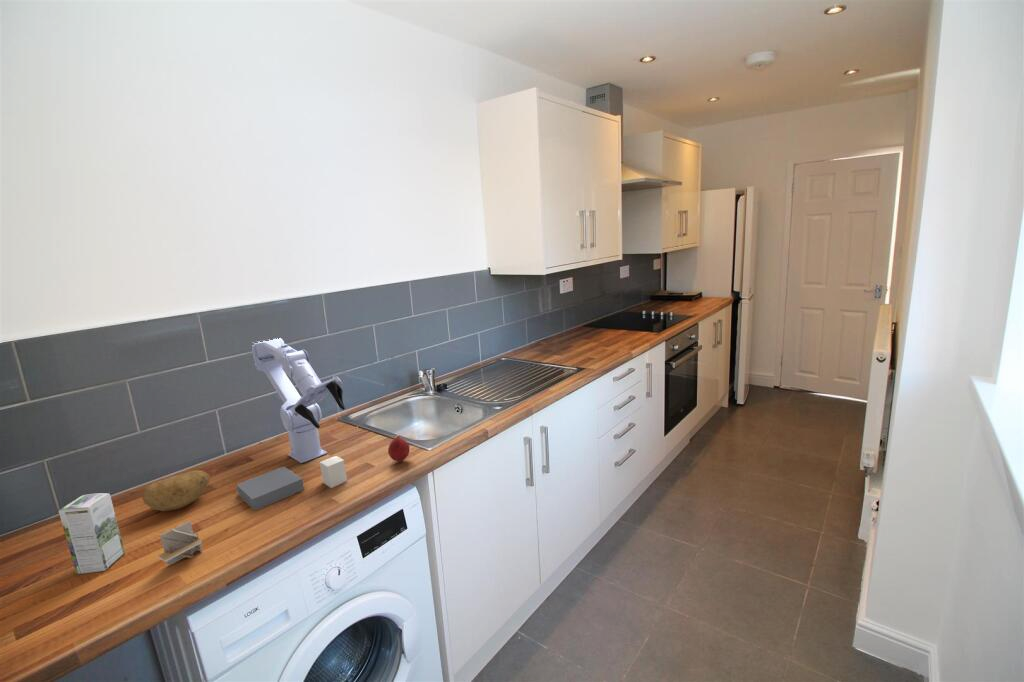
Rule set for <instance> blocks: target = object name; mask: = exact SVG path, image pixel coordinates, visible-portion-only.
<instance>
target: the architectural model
mask: <svg viewBox="0 0 1024 682" xmlns="http://www.w3.org/2000/svg"><path fill="white" fill-rule="evenodd" d="M192 526H193V525H192V521H191V520H189V521H187V522H184V523H182V524H181V525H178V526H176V527H174V528H172V529H170V530H168V531H166V532H164V533H161V534H160V535H159V537H160V540H161V544H162V549H163V552H162V553H160V554H158V555H157V557H158V558H159V559H160V560H161V561H163V562H164V563H167V567H169V566H172V565H174V564H175V563H177V562H179V561H180V560H183V559H185V558H188V559H191V558H194V555H193V554H195V553H196V552H199V551H200V553H201V552H202V553H203V548H202V545H201V544H203V541H202V539H200V537H199V534H198V532H196V533H194V530H193V527H192ZM197 550H198V551H197ZM195 551H196V552H195Z"/></svg>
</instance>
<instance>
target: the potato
mask: <svg viewBox="0 0 1024 682" xmlns="http://www.w3.org/2000/svg"><path fill="white" fill-rule="evenodd" d="M210 480H211V477H210V475H209V473H207V472H206V471H203V470H191V471H188V472H185V473H181V474H177V475H173V476H169V477H167V478H164V479H162V480H158V481H156V482H155V481H154V482H153V483H151V484H149V485H147V486H146V488H145V489H144V491H143V492H142V500H143V503H144V504H145V505H146V506H148V507H149V508H150V509H153V510H156V511H161V512H168V511H174V510H175V511H176V510H179V509H182V508H185V507H187V506H188V505H190V504H192V503H193V502H194V501H195V500H197V499H198V498H199V497H200V496H201V495H202V494H203V493H204V492H205V491H206V489H207V487H208V485H209V483H210Z"/></svg>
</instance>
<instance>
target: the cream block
mask: <svg viewBox="0 0 1024 682" xmlns="http://www.w3.org/2000/svg"><path fill="white" fill-rule="evenodd" d="M345 464H346V463H345V459H343V458H341V457H339V456H337V455H335V456H332V457H329V458H327V459H326V458H325V459H323V460H322V461H319V465H320V473H321V477H322V478H321V479H322V483H323V484H324V485H326V486H327V487H329V488H331V489H333V488H335V487H337V486H339V485H341V484H343V483H346V482H348V477H347V470H346V465H345Z"/></svg>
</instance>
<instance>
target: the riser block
mask: <svg viewBox="0 0 1024 682" xmlns="http://www.w3.org/2000/svg"><path fill="white" fill-rule="evenodd" d="M235 486H236V490H237V493H238V494H237V495H238V496H239V497H240V498H241V499H242V500H243V501H244V502H246V504H247V505H248V506H249V507H250V508H252V509H253V510H254V511H257V510H260V509H262V508H264V507H267V506H268V505H271V504H274V503H276V502H278V501H281V500H283V499H285V498H287V497H290V496H292V495H295V494H297V493H299V492H302V491H304V490H305V486H304V481H303V478H302V477H300V476H299V475H298V474H296V473H294V472H293V471H292V470H290V469H288V468H287V467H286V466H285V465H284V466H281V467H279V468H275V469H273V470H271V471H268V472H265V473H262V474H260V475H258V476H255V477H252V478H250V479H246V480H244V481H241V482H239V483H237V484H236V485H235Z"/></svg>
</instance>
